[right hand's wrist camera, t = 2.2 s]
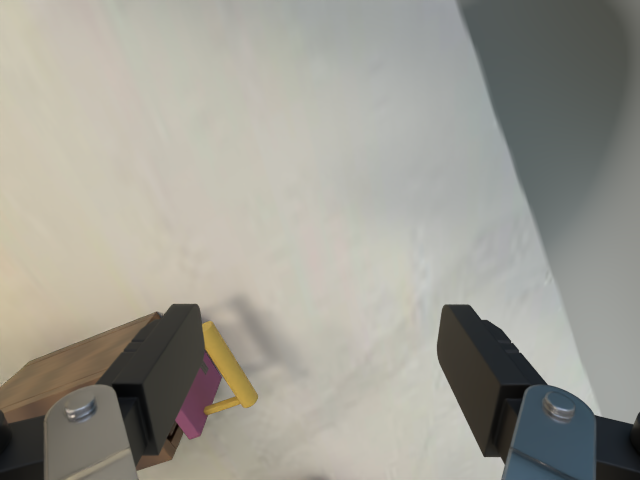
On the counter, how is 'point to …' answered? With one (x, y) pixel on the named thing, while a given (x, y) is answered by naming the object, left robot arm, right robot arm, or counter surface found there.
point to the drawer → (213, 385)
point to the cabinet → (74, 379)
